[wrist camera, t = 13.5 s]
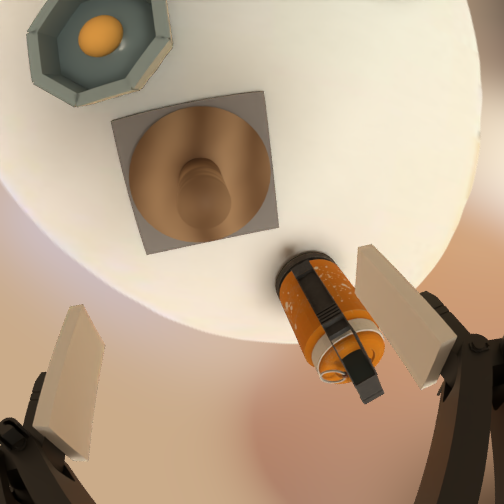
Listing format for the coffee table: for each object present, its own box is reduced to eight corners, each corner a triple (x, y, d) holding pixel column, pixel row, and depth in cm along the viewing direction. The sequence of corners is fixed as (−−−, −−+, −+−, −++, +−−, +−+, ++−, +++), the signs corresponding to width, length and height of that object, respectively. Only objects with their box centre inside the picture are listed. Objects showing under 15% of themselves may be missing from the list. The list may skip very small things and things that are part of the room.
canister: (290, 314, 46) (341, 428, 29) (255, 261, 40) (306, 388, 23) (343, 283, 45) (414, 386, 28) (316, 225, 40) (404, 331, 23)
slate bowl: (163, -26, 22) (160, -47, 16) (178, 81, 28) (177, 79, 23) (47, 10, 20) (24, 0, 15) (62, 115, 27) (39, 121, 22)
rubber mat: (262, 90, 30) (263, 91, 30) (277, 224, 38) (278, 227, 38) (112, 120, 29) (111, 121, 28) (147, 251, 37) (146, 254, 36)
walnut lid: (259, 95, 30) (285, 98, 22) (274, 224, 38) (298, 263, 30) (116, 124, 28) (92, 137, 21) (149, 250, 36) (142, 296, 28)
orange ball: (124, 14, 23) (115, 4, 19) (129, 52, 25) (120, 46, 21) (84, 27, 22) (69, 20, 18) (88, 64, 24) (74, 61, 21)
